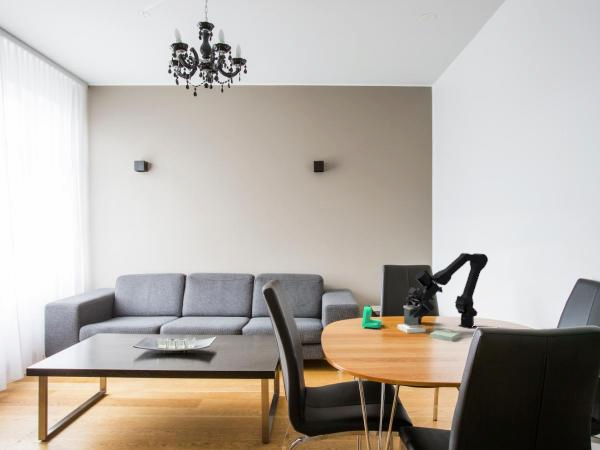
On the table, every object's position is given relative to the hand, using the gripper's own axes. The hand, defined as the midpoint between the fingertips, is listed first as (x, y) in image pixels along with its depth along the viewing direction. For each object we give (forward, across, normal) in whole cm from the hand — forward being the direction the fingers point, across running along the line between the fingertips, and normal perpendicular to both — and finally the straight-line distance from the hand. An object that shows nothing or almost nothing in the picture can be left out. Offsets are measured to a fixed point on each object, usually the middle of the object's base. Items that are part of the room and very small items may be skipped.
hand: (409, 315), depth 197 cm
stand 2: (-2, +16, +12) cm, 20 cm away
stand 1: (+4, 0, +6) cm, 8 cm away
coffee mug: (-4, -13, +14) cm, 20 cm away
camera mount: (+16, -12, -5) cm, 21 cm away
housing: (+3, 0, +5) cm, 6 cm away
